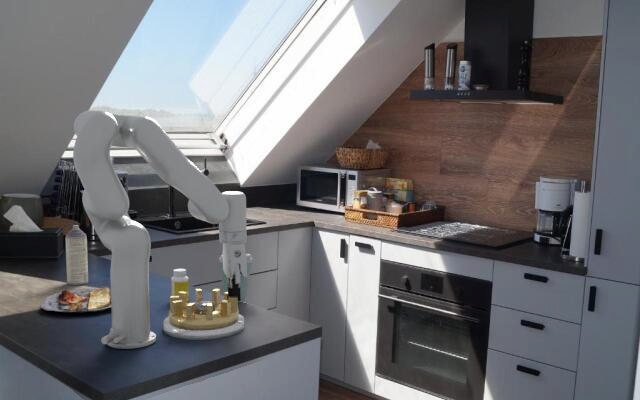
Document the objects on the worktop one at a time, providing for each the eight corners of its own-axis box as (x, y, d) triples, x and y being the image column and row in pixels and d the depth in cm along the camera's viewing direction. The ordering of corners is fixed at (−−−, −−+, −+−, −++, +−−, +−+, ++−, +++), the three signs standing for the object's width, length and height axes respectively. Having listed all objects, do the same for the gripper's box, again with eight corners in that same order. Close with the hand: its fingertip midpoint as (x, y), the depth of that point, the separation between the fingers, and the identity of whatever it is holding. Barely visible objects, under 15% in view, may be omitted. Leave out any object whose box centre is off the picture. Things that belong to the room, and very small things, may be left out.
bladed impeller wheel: (174, 332, 186) (173, 308, 185) (164, 312, 204) (164, 291, 203) (245, 326, 192) (245, 302, 192) (230, 307, 210) (230, 286, 209)
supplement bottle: (192, 300, 226) (192, 269, 224) (178, 303, 222) (177, 272, 220) (182, 297, 229) (181, 267, 228) (167, 300, 225) (167, 269, 224)
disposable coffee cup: (212, 299, 227) (212, 252, 225) (242, 294, 234) (242, 248, 232) (229, 306, 219) (228, 258, 217) (259, 301, 225) (259, 254, 223)
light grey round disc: (219, 344, 184) (219, 335, 184) (147, 333, 192) (147, 325, 192) (257, 320, 205) (257, 313, 204) (190, 312, 213) (190, 305, 212)
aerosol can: (87, 280, 250) (85, 223, 248) (88, 284, 244) (86, 226, 241) (67, 281, 248) (64, 224, 245) (67, 286, 242) (65, 227, 239)
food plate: (50, 295, 229) (50, 285, 229) (125, 293, 234) (125, 282, 233) (36, 320, 205) (36, 308, 204) (121, 317, 210) (120, 305, 209)
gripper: (253, 240, 192) (254, 306, 195) (239, 230, 206) (241, 293, 209) (225, 242, 190) (226, 309, 192) (214, 232, 204) (215, 295, 206)
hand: (234, 300), depth 200 cm, fingers closed
